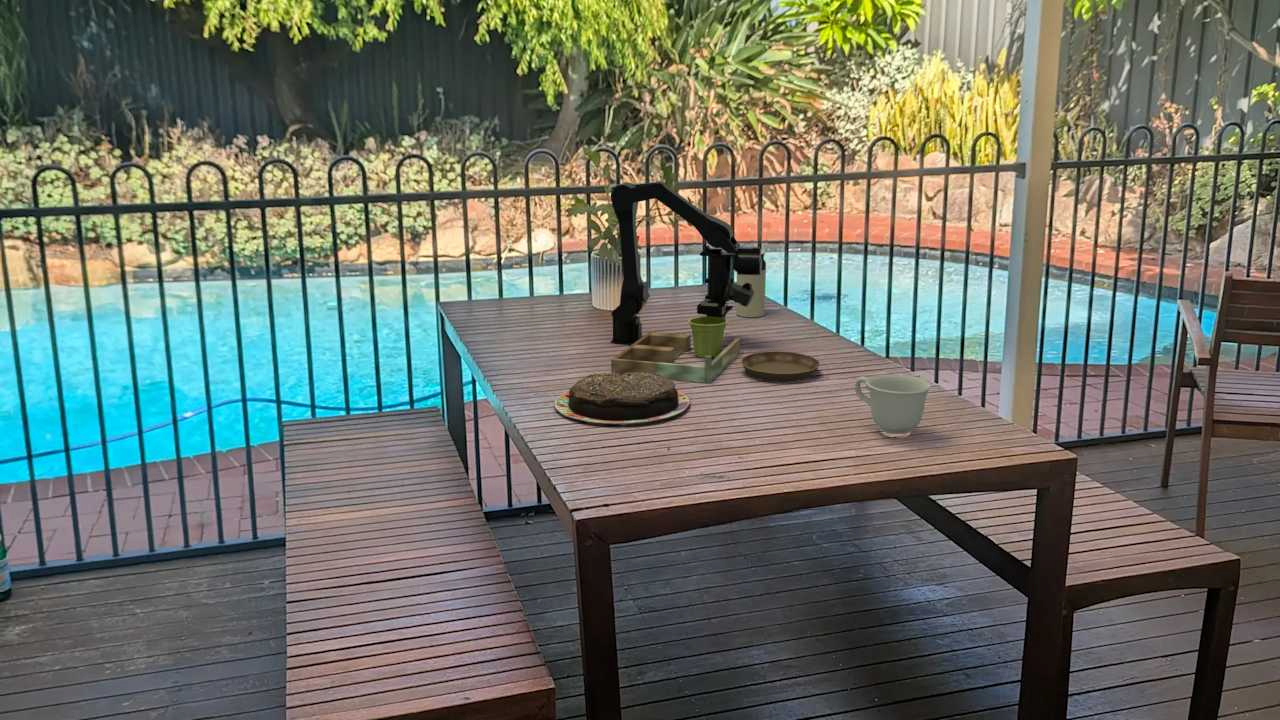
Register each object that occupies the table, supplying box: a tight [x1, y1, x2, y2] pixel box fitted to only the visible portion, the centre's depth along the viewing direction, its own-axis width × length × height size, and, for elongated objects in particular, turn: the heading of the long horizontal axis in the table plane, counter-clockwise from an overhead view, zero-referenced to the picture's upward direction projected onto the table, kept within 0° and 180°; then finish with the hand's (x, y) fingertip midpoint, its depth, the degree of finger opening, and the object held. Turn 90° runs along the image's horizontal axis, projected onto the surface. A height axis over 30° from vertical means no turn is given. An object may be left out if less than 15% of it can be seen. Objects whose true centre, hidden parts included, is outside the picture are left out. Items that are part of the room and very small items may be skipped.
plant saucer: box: [740, 351, 821, 383], centre depth 246 cm, size 18×18×3 cm
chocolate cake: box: [553, 372, 691, 428], centre depth 222 cm, size 28×28×7 cm
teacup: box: [854, 373, 933, 434], centre depth 205 cm, size 12×15×10 cm
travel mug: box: [735, 249, 767, 319], centre depth 301 cm, size 8×8×18 cm
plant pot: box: [688, 315, 728, 359], centre depth 260 cm, size 9×9×9 cm
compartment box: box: [610, 331, 741, 384], centre depth 254 cm, size 23×28×6 cm
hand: (718, 335), depth 270 cm, fingers closed
